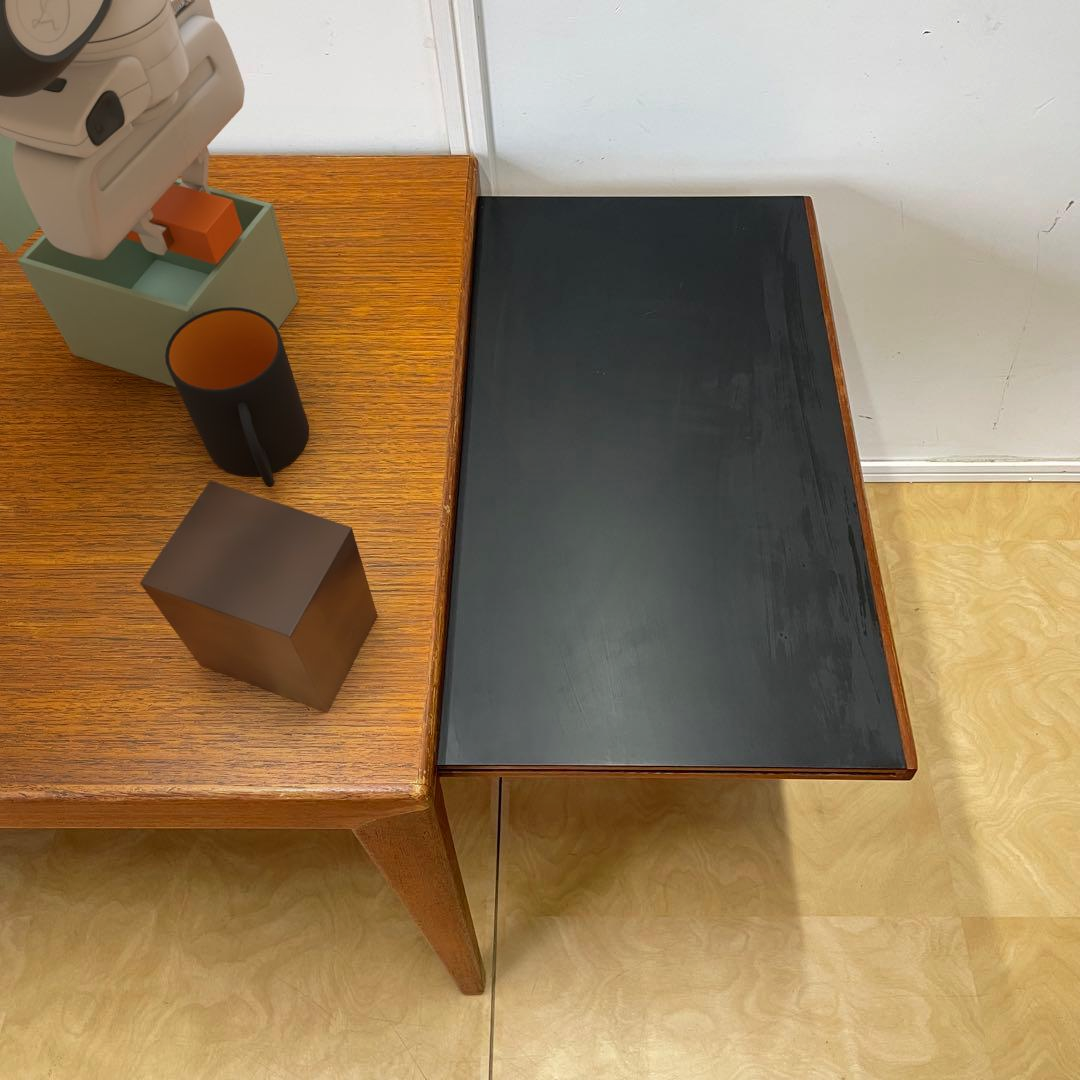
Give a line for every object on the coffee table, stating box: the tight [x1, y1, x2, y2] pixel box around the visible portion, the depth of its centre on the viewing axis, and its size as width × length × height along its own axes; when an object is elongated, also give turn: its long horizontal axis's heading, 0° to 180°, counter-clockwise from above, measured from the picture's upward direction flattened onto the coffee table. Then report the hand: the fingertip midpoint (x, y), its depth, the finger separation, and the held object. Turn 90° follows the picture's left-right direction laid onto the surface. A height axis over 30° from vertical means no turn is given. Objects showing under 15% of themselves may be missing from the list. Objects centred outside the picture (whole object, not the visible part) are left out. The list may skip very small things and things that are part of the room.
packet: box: [125, 184, 242, 264], centre depth 70 cm, size 8×4×3 cm, turn 70°
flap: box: [0, 135, 40, 254], centre depth 71 cm, size 7×13×1 cm
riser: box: [139, 480, 378, 713], centre depth 61 cm, size 10×8×12 cm
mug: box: [165, 307, 310, 488], centre depth 70 cm, size 8×12×10 cm
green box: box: [16, 177, 300, 389], centre depth 77 cm, size 15×13×10 cm
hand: (180, 225), depth 71 cm, fingers closed on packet, 4 cm apart
